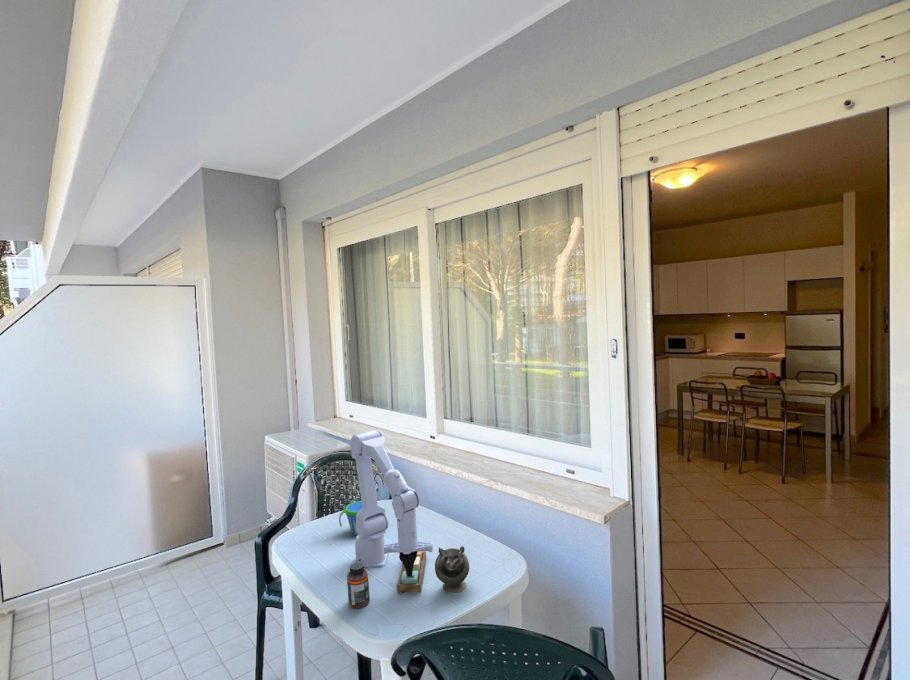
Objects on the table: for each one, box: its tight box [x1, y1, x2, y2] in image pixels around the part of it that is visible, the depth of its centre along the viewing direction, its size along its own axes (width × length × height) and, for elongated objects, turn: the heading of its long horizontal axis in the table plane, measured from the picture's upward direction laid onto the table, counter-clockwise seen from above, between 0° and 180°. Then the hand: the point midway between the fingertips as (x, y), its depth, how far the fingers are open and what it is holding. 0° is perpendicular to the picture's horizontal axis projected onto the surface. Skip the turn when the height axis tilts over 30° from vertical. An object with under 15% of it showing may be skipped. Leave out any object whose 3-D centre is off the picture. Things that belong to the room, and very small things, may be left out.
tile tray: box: [396, 551, 427, 595], centre depth 149 cm, size 7×19×2 cm, turn 179°
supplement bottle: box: [346, 561, 371, 609], centre depth 136 cm, size 6×6×11 cm
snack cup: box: [338, 500, 363, 537], centre depth 181 cm, size 16×11×10 cm
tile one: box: [404, 557, 421, 572], centre depth 149 cm, size 5×5×3 cm
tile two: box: [401, 571, 419, 584], centre depth 143 cm, size 5×5×3 cm
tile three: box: [417, 551, 423, 561], centre depth 155 cm, size 5×5×3 cm
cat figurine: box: [434, 546, 470, 594], centre depth 141 cm, size 10×12×10 cm
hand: (410, 574), depth 143 cm, fingers closed, pressing on tile two
